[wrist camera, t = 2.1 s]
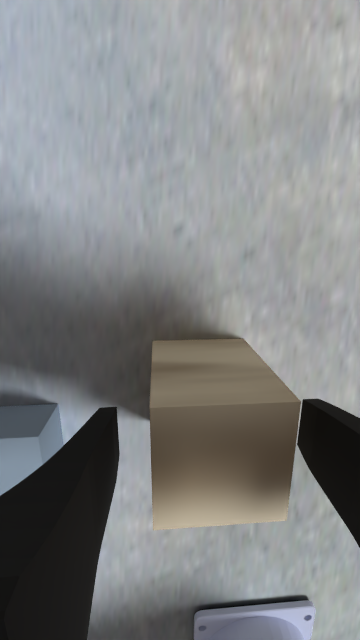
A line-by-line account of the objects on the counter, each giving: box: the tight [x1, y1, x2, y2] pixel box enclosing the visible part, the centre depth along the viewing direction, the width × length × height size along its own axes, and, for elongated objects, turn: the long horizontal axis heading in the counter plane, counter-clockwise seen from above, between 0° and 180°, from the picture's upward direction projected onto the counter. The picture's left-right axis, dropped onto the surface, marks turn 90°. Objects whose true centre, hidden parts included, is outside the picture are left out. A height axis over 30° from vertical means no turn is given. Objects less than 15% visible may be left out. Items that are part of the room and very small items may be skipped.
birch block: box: [150, 339, 301, 530], centre depth 12 cm, size 4×4×6 cm
